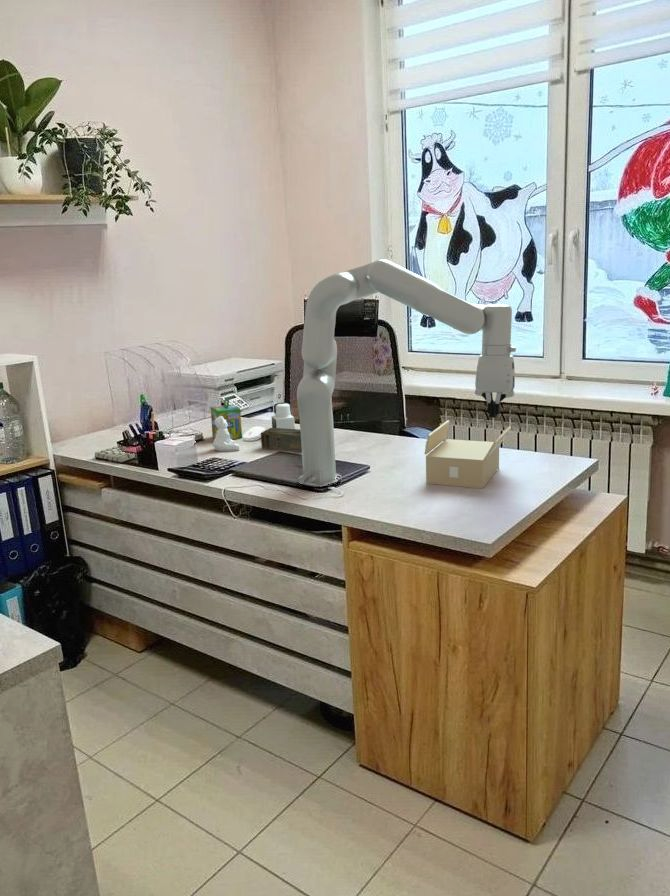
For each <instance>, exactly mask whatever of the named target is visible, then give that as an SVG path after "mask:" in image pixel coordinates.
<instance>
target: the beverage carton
mask: <svg viewBox="0 0 670 896" xmlns="http://www.w3.org/2000/svg"><path fill="white" fill-rule="evenodd" d="M260 441H261V449H262V450H271V451H272V450H273V451H274V450H275V451H287V452H289V451H290V452H302V448H301V431H300V428H299V429H298V428H297V429H296V428H295V429H283V428H272V427H269V428H268V429H266V430H264V431H262V432H261V433H260Z"/></svg>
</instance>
